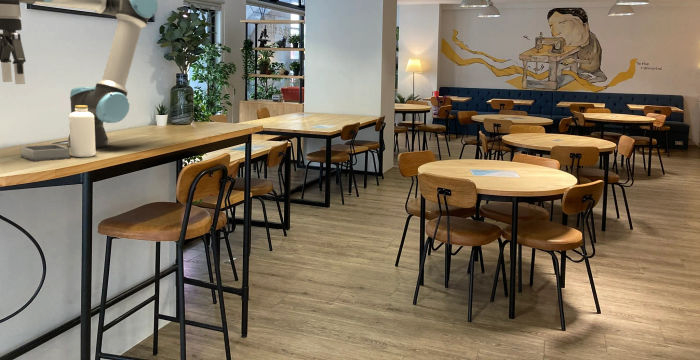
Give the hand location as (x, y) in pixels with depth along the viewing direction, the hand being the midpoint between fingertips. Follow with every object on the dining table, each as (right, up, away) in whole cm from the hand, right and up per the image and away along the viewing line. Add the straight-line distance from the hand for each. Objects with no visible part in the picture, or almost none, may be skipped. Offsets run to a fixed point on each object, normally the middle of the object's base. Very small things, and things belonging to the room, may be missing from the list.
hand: (13, 83), depth 214 cm
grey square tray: (+7, -25, +8) cm, 27 cm away
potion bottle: (+17, -24, +15) cm, 33 cm away
